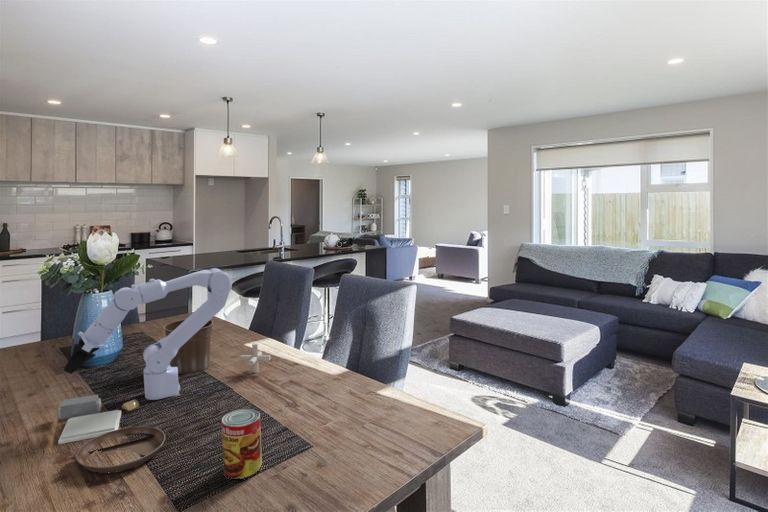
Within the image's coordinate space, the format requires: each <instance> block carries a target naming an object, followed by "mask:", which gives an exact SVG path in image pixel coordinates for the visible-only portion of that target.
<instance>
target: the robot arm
mask: <svg viewBox="0 0 768 512" xmlns="http://www.w3.org/2000/svg"><path fill="white" fill-rule="evenodd" d="M232 285H233V283H232V278H231V276H230V274H229V273H228V272H227V271H224V270H223V271H222V269H220V268H217V267H212V268H209V269H203V270H202V269H201V270H199V271H196V272H195V271H194V272H192V273H189V274H186V275H183V276H179V277H175V278H172V279H170V280H167V281H163V280H161V279H159V278H158V279H155V278H150V279H149V281H147V282H143V283H140V284H135V283H134V284H131V287H128V286H126V287H121V288H120V289H118V290H116V291H114V293H113V294H114V295H113V299H112V300H111V301H109V302H108V304H107V305H106V306H105V307H104V309H102V311H101V312H100V313H99V315H98V316H97V317H96V318H95V319H94V321H93V322H92V323H91V324H90V326H89V327H88V328H87V329H86V330H85V332H82V331H79V332H78V333H77V335H78V336H80V338H79V341H78V343H77V342H76V343H75V344H74V346H73V349H72V354H71V355H70V357H69V359H68V361H67V363H66V365H65V366H64V369H63V371H64V372H66V373H68V374H70V375H72V374H74V373H75V372H76V371H77V370H78V369H79V368H81V367H82V365H84V364H85V363H86V362H87V361H89V360H92V359H93V358H94V357H96V354H95V353H94V352H97V351H99V349H101V348H103V347H104V346H105V343H106V342H107V341H108V339H109V338H110V337H111V335H112V334H113V333H114V332H115V331H116V329H117V328H118V327H119V326H120V325H121V323H122V322H123V321H124V319H125V318H126V317H127V315H128V313H129V312H130V310H132V311H133V310H135V309H136V308H137V307H138V306H139V305H144V304H147V303H151V302H156V301H158V300H161V299H164V298H166V296H167V295H168V294H169V293H171V292H174V291H179V290H182V289H186V288H191V287H193V286H194V287H195V286H199V287H203V288H206V290H207V292H206V293H207V295H206V297H207V300H206V301H205V302H203V303H202V304H201V305H200V306H199V307H197V308H196V310H194V311H193V312H192V313H191V314H190V315H189V316H188V317H187V318H185V319H186V320H185V319H184V320H185V321H184V322H182V323H181V324H180V325H179V326H178V327H177V328H176V329H175V330H174V331H172V332H171V333H170V334H169V335H168V336H167V337H166V336H165V337H163V338H160V339H159V340H158V341H156V342H155V343H153V344H150V345H148V346H147V347H146V348H145V349H144V351H143V352H142V353H143V354H142V357H143V360H144V362H145V367H144V369H143V383H144V397H145V399H146V400H149V401H150V400H152V401H155V400H156V401H157V400H161V399H165V398H169V397H176V396H180V391H181V385H180V384H179V374H178V367H172V365H171V360H172V359H173V358H174V357H175V356H176V354H177V352H178V350H179V348H180V347H181V346H182V345H184V344H185V343H186V342H187V341H188V340H189V339H190V338H191V337H192V336H193V335H194V334H195V333H196V332H198V331H199V330H200V329H201V328H202V327H203V326H204V325H205V324H206V323H207V322H208V321H209V320H212V319H213V318H214V317H215V316H216V315H217V314H218V313H219V312H221V310H222V309H223V308H224V307H225V306H226V305H227V304H226V303H227V300H228V297H229V294H230V291H231V290H232V288H233V286H232Z"/></svg>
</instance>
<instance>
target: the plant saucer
mask: <svg viewBox="0 0 768 512" xmlns="http://www.w3.org/2000/svg"><path fill="white" fill-rule="evenodd" d="M134 434H136V435H137V434H148V435H151V436H148V437H144V438H139V439H136V440H132V441H127V442H124V443H120V444H116V445H111V446H107V447H103V448H99V449H100V450H99V449H95V450H92V449H94V448H95V447H97V446H99V445H101V444H102V443H105V442H107V441H110V440H113V439H116V438H120V437H123V436H128V435H134ZM165 440H166V434H165V432H164V431H163V430H162V429H159V428H157V427H152V426H142V425H141V426H129V427H124V428H123V427H122V428H118V430H115V431H111V432H108V433H105V434H103V435H100V436H98V437H94V438H91V439H90V440H89V441H86V442H85V443H84V444H83V445H82V446H81V447H80V448H79V449H78V450H77V453H75V454H76V455H75V460H76V461H77V462H78V464H80V465H81V466H82V467H83V468H85V469H87V471H89V472H92V471H93V472H92V473H95V472H100V473H99V474H102V473H108V472H116V471H122V470H126V469H129V470H131V469H130V468H132V467H135V466H137V467H139V466H141V465H143V464H144V462H145V463H146V461H147V462H149V461H150V460H151V459H152V458H154V456H155V455H156V454H157V453H158V452H159V450H160V449H161V448H162V446H163V444H164V443H165ZM118 448H119V449H118ZM96 450H98V451H101V450H102V453H103V454H105V453H106V452H107V454H108V455H112V454H114V453H117V452H116V451H117V450H119V451H127V450H131V451H127V452H136V453H139V454H142V455H145V456H144V457H141V458H139V459H137V460H134V461H131V462H128V463H124V464H119V465H113V466H102V467H97V466H89V465H85V460H86V459H87V457H89V455H90V454H92V453H93V452H94V451H96ZM103 454H102V455H103ZM150 458H151V459H150ZM149 459H150V460H149ZM142 463H143V464H142ZM140 464H141V465H140ZM138 465H139V466H138ZM135 468H136V467H135ZM132 469H133V468H132ZM126 471H127V470H126ZM122 472H123V471H122ZM108 474H109V473H108Z"/></svg>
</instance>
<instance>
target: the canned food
mask: <svg viewBox="0 0 768 512" xmlns="http://www.w3.org/2000/svg"><path fill="white" fill-rule="evenodd" d="M261 432H262V431H261V413H260V412H259V411H258V410H255V409H252V408H240V409H235V410H232V411H229V412H227V413H226V414H225V415H223V417H222V418H221V434H222V435H221V438H222V456H223V474H224V473H225V474H224V476H225V475H226V476H229V477H232V478H243V477H247V476H250V475H252V474H254V473H255V472H257V471H258V470H259V469H260V467H261V465H262V466H263V462H262V460H263V459H262V436H261V434H262V433H261ZM226 476H225V477H226Z"/></svg>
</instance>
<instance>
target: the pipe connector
mask: <svg viewBox="0 0 768 512" xmlns="http://www.w3.org/2000/svg"><path fill="white" fill-rule="evenodd" d="M251 345H252V347H251V348H252V349H251V350H252V351H251V352H252V354H251V355H250V354H249V355H248V354H245V355H243V354H241V355H240V356H239V358H240V359H239V360H240V362H243V361H245V362H246V361H248V362H247V364H248V366H250V367H252V372H253V373H254V374H258V373H260V372H259V371H260V370H259V369H260V368H259V367H260V366H259V361H265V362H267V361H271V357H272V356H271V355H269V354H268V355H267V354H265V355H264V354H263V351H261V350H259V347H258V346H259V344H258V343H257V342H255V343H252V344H251Z"/></svg>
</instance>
